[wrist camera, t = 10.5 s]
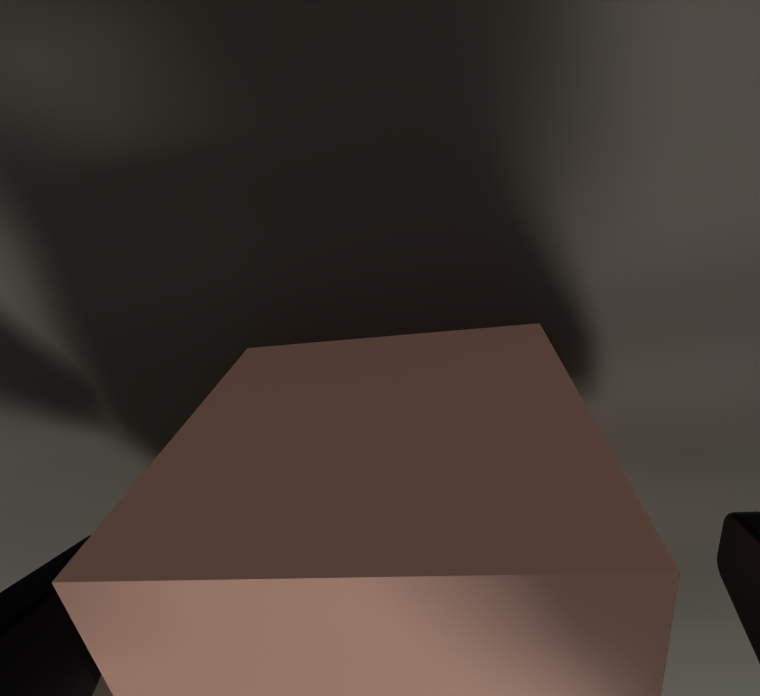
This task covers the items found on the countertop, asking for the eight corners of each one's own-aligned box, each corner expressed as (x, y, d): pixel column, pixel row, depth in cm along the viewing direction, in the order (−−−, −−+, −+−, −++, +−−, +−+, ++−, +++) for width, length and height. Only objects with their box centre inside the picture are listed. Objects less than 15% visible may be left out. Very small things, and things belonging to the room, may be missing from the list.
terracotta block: (539, 321, 8) (680, 572, 3) (539, 549, 10) (629, 900, 5) (248, 346, 9) (52, 582, 4) (303, 555, 11) (207, 870, 6)
